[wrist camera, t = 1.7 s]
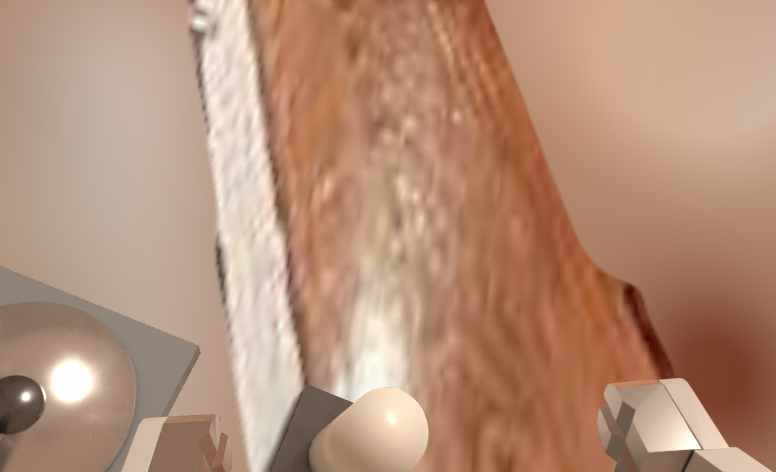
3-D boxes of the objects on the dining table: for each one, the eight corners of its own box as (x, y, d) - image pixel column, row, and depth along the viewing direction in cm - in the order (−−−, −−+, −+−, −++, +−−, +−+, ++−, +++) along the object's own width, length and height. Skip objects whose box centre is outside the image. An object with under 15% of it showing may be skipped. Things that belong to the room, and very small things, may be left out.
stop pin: (299, 473, 34) (333, 458, 22) (320, 418, 36) (363, 375, 24) (351, 494, 34) (414, 489, 22) (370, 437, 36) (437, 405, 24)
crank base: (-169, 494, 29) (-197, 493, 27) (2, 273, 36) (-11, 261, 34) (78, 584, 30) (68, 590, 28) (200, 352, 37) (198, 345, 35)
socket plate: (262, 492, 34) (262, 491, 33) (305, 386, 38) (306, 384, 37) (364, 531, 35) (367, 532, 34) (397, 423, 38) (401, 422, 37)
